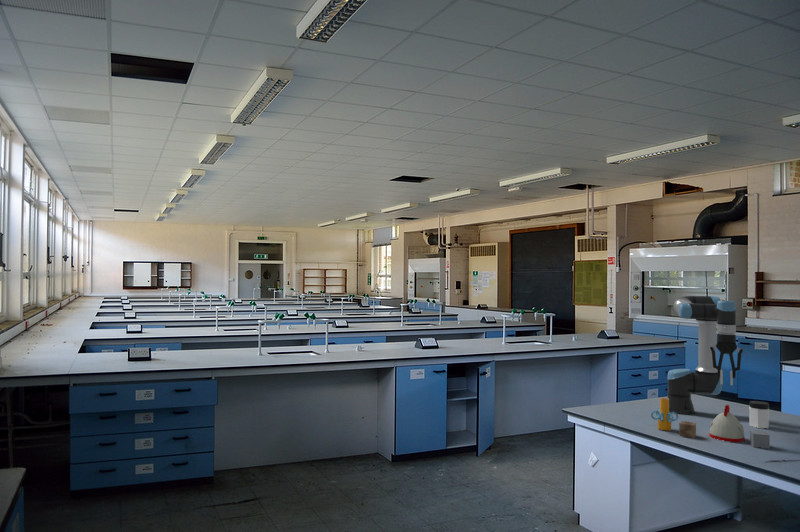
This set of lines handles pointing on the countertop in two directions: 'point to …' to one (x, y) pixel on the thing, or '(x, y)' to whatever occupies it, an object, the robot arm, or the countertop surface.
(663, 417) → the yellow column with loops
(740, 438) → the kitchen timer
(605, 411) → the countertop surface
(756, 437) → the slate block
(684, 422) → the walnut block
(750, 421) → the jar
